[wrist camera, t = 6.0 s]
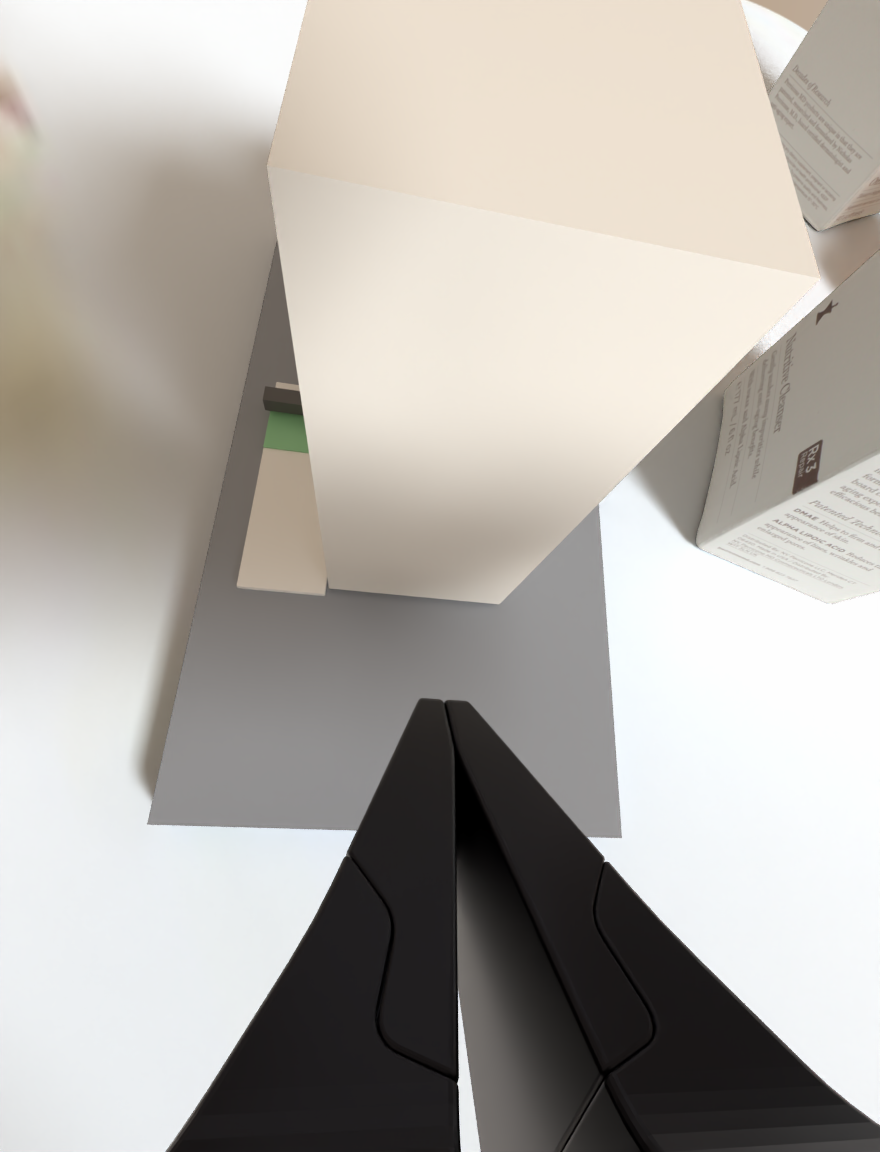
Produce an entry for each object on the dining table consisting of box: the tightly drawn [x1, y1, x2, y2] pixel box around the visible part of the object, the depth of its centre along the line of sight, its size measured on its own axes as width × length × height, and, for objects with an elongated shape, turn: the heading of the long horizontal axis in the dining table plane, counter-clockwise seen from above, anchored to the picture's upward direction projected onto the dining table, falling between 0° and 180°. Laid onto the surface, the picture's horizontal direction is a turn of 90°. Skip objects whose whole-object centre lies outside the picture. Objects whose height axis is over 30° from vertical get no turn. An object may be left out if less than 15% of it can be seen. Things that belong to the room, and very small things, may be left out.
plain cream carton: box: [263, 0, 821, 604], centre depth 11 cm, size 10×8×11 cm
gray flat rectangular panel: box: [147, 240, 622, 838], centre depth 17 cm, size 21×12×1 cm, turn 176°
